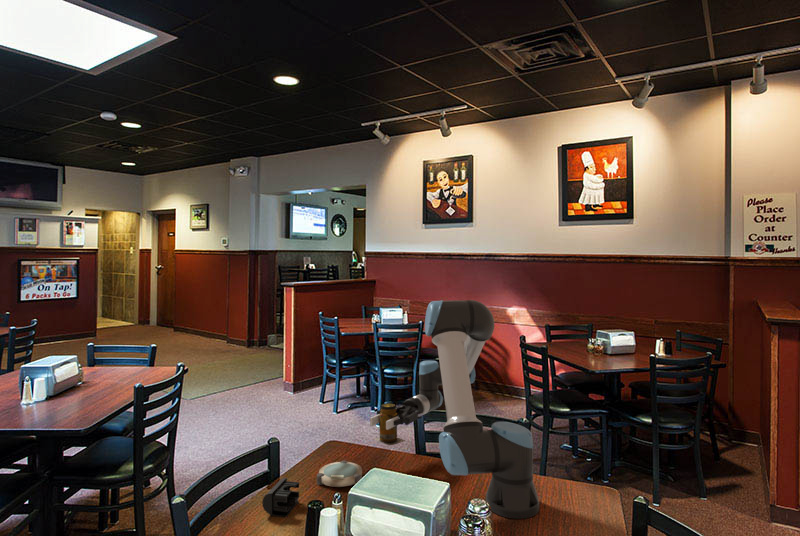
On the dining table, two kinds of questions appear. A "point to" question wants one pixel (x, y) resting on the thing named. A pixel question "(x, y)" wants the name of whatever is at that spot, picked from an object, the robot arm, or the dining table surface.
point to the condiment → (385, 435)
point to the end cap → (281, 499)
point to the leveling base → (339, 474)
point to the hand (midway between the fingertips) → (378, 423)
